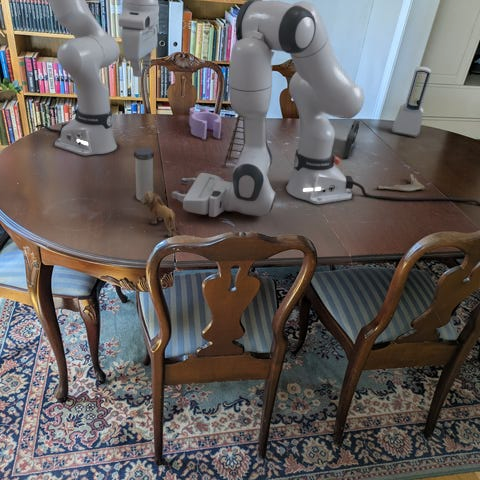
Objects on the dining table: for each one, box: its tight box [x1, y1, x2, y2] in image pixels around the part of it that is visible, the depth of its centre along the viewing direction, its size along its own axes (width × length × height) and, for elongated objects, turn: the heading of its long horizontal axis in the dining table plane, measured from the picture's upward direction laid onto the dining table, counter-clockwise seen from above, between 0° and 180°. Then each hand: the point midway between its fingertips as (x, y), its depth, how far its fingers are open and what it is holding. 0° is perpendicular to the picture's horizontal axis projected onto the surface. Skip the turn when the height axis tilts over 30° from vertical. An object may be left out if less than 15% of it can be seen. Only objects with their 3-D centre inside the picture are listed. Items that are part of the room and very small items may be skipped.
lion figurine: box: [140, 190, 182, 237], centre depth 130 cm, size 15×5×9 cm, turn 50°
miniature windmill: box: [223, 114, 245, 167], centre depth 166 cm, size 9×8×30 cm
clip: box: [188, 106, 222, 140], centre depth 199 cm, size 20×12×7 cm, turn 23°
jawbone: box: [376, 173, 426, 193], centre depth 169 cm, size 9×20×2 cm, turn 126°
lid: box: [133, 146, 155, 160], centre depth 138 cm, size 6×6×2 cm
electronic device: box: [391, 66, 432, 138], centre depth 214 cm, size 12×8×30 cm, turn 71°
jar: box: [134, 157, 154, 202], centre depth 142 cm, size 5×5×15 cm
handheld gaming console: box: [342, 119, 361, 159], centre depth 194 cm, size 23×3×10 cm, turn 161°
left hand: (142, 71), depth 126 cm, fingers open, 8 cm apart
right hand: (176, 187), depth 142 cm, fingers open, 8 cm apart
